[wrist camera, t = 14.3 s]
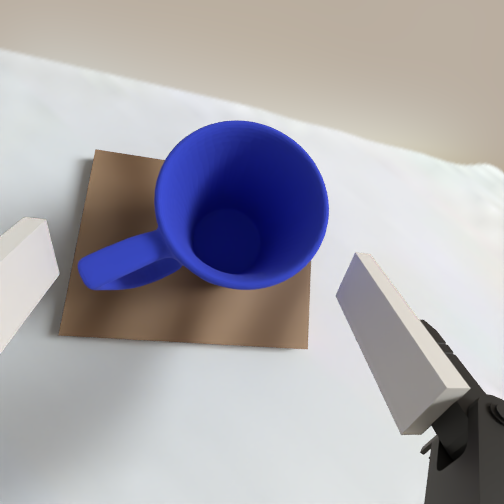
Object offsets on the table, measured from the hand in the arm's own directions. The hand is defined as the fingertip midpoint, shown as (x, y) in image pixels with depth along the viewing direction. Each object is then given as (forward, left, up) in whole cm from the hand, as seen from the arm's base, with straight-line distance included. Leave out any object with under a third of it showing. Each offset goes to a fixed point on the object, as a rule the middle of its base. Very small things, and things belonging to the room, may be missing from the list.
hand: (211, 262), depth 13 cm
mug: (0, +2, -10) cm, 10 cm away
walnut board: (-1, +2, -11) cm, 11 cm away
